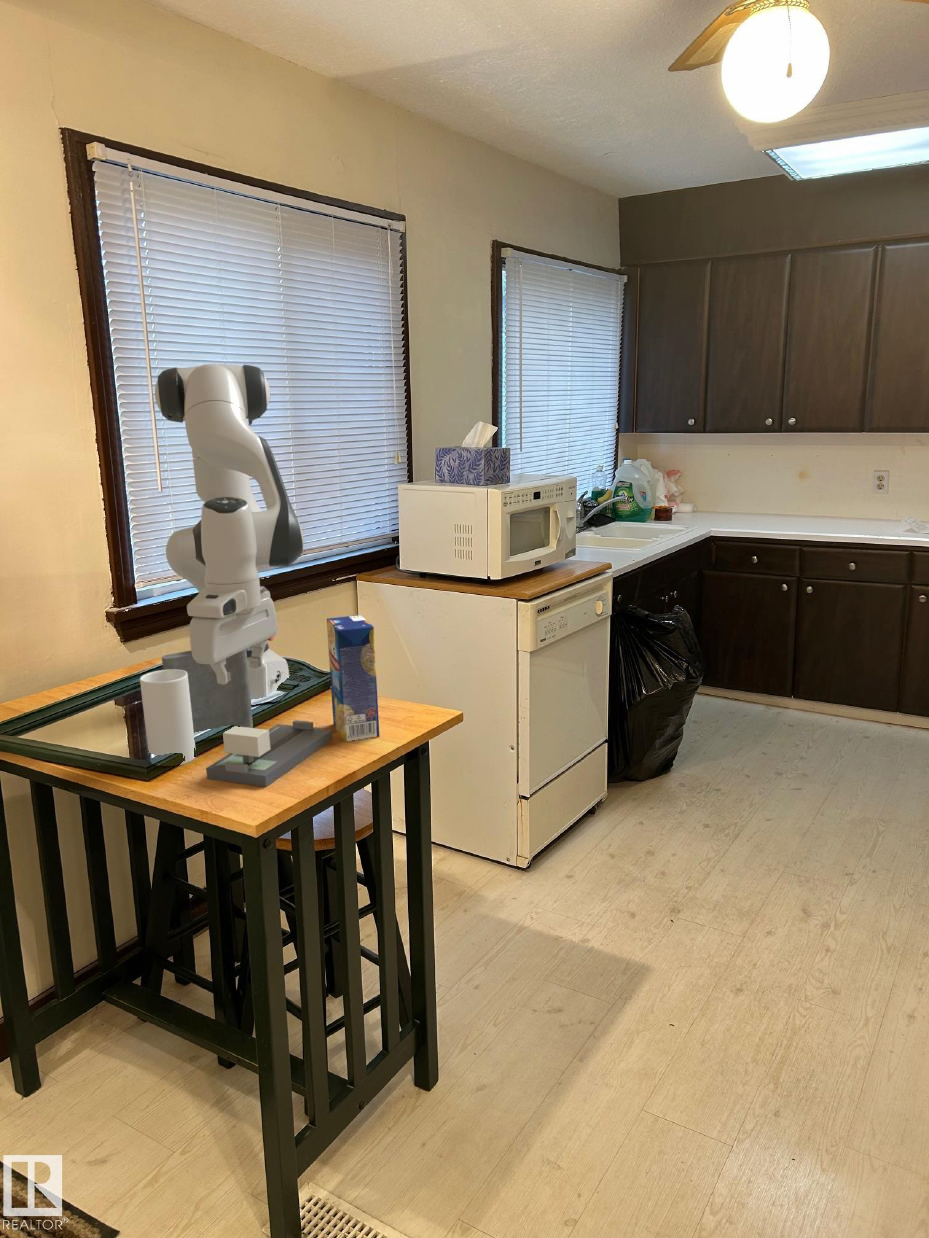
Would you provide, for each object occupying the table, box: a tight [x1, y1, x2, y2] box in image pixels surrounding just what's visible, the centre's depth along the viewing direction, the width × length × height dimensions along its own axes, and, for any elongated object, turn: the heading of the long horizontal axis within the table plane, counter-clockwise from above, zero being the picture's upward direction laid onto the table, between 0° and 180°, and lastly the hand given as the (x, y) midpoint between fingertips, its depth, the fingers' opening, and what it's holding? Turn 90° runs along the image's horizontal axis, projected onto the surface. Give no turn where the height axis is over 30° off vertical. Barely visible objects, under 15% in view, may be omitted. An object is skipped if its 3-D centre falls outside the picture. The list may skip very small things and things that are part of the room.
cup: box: [139, 669, 196, 766], centre depth 163 cm, size 8×8×16 cm
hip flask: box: [161, 649, 254, 733], centre depth 174 cm, size 16×4×20 cm, turn 119°
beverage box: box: [326, 614, 380, 743], centre depth 174 cm, size 7×11×22 cm, turn 20°
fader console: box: [205, 719, 333, 788], centre depth 164 cm, size 23×12×3 cm, turn 159°
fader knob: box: [222, 726, 270, 763], centre depth 156 cm, size 4×7×6 cm, turn 69°
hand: (240, 674), depth 153 cm, fingers open, 8 cm apart
